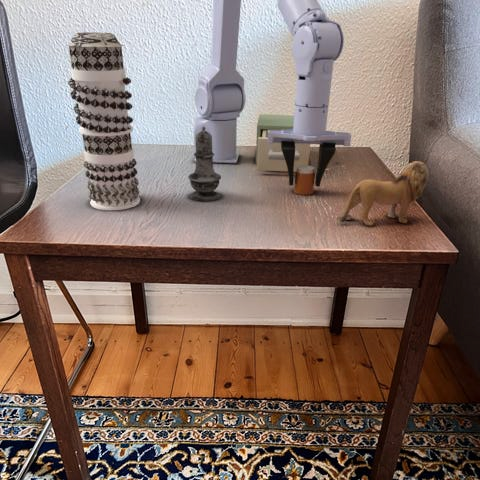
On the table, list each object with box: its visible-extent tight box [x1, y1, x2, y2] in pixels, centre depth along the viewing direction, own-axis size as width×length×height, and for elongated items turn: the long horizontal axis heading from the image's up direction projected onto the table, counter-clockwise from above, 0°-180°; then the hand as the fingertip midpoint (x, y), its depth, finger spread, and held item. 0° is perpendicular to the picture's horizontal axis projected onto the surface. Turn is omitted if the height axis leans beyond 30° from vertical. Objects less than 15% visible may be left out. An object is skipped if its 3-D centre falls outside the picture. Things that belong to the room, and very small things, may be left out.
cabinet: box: [255, 113, 294, 165], centre depth 108 cm, size 14×12×8 cm
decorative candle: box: [66, 31, 141, 211], centre depth 74 cm, size 9×9×25 cm
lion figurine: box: [339, 160, 430, 227], centre depth 73 cm, size 15×5×9 cm, turn 110°
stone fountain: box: [187, 126, 222, 202], centre depth 81 cm, size 6×6×12 cm
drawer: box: [256, 129, 311, 173], centre depth 98 cm, size 17×10×6 cm, turn 176°
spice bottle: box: [293, 165, 316, 196], centre depth 87 cm, size 4×4×4 cm
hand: (304, 184), depth 87 cm, fingers open, 4 cm apart
